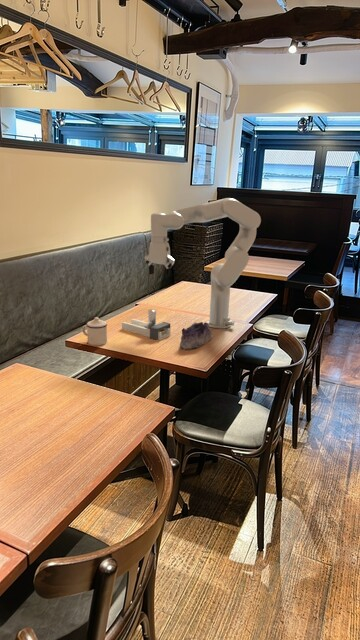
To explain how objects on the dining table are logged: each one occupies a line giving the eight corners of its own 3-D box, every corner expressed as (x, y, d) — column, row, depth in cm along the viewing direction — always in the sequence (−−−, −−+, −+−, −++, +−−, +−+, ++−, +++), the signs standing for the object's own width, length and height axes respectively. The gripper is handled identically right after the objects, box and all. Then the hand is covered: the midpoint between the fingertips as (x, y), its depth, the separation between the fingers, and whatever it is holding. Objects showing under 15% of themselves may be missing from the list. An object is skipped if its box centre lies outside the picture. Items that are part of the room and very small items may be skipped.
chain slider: (166, 332, 214) (167, 312, 211) (160, 335, 210) (160, 314, 207) (150, 327, 220) (150, 308, 217) (144, 330, 216) (144, 310, 213)
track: (171, 334, 216) (172, 324, 215) (158, 340, 208) (158, 329, 207) (134, 324, 230) (134, 314, 228) (120, 329, 222) (119, 318, 220)
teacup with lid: (111, 340, 207) (110, 316, 203) (101, 347, 199) (100, 322, 195) (88, 336, 211) (87, 313, 207) (77, 343, 203) (76, 318, 199)
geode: (198, 353, 195) (196, 331, 193) (174, 351, 201) (172, 330, 198) (216, 337, 212) (214, 317, 210) (194, 336, 218) (192, 316, 215)
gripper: (178, 240, 213) (178, 276, 218) (149, 237, 222) (150, 271, 227) (169, 242, 207) (169, 278, 212) (139, 239, 216) (140, 274, 222)
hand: (159, 275), depth 220 cm, fingers open, 9 cm apart
